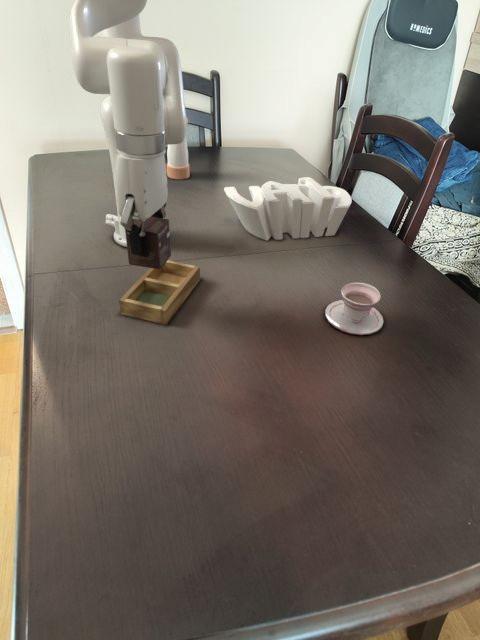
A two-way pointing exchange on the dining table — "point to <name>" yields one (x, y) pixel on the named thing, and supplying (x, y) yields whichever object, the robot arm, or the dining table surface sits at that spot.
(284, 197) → the wavy white extrusion
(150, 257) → the box
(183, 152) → the pepper shaker
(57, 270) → the dining table surface
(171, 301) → the wooden tray
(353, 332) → the teacup
